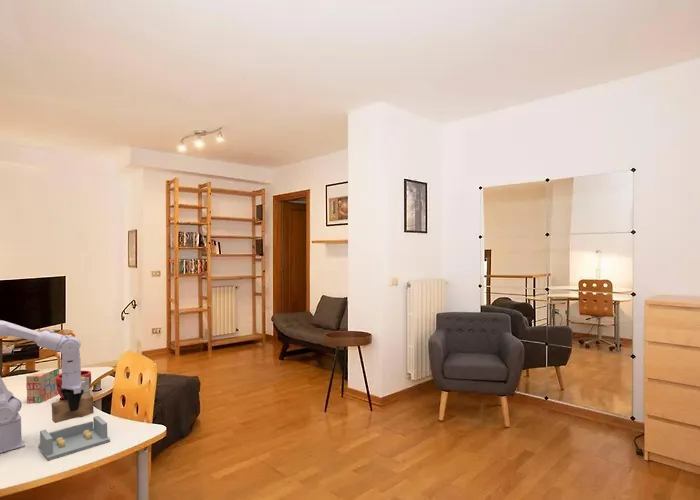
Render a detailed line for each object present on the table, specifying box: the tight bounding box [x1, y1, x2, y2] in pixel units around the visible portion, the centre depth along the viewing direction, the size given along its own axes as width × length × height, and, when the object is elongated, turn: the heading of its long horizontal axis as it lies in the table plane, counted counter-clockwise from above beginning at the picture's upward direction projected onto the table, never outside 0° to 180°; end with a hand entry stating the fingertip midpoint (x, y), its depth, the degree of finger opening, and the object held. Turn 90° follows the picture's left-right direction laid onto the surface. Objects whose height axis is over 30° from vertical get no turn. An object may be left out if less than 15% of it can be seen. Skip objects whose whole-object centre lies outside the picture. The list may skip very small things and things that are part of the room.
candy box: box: [80, 376, 91, 418], centre depth 177 cm, size 9×4×15 cm, turn 60°
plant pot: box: [56, 370, 92, 402], centre depth 193 cm, size 13×13×12 cm
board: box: [51, 394, 95, 424], centre depth 157 cm, size 12×4×6 cm, turn 136°
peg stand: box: [37, 415, 111, 462], centre depth 149 cm, size 18×14×6 cm
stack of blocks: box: [25, 367, 62, 404], centre depth 202 cm, size 21×6×12 cm, turn 178°
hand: (72, 409), depth 157 cm, fingers closed on board, 4 cm apart
